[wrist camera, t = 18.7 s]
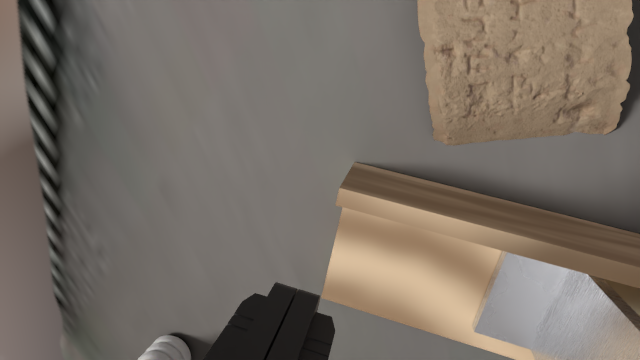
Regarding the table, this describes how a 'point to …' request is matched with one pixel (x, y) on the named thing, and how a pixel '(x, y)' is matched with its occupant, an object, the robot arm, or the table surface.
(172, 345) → the light bulb
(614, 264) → the rack
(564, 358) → the bookend
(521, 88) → the clay tablet
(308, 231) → the table surface
